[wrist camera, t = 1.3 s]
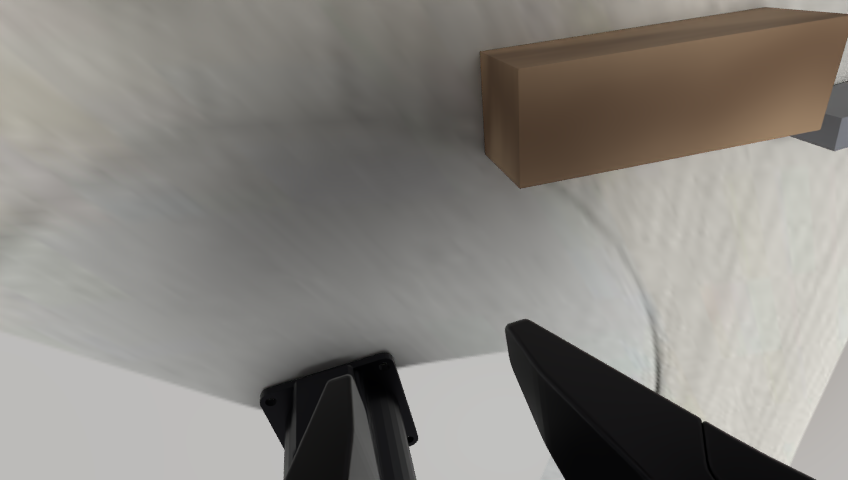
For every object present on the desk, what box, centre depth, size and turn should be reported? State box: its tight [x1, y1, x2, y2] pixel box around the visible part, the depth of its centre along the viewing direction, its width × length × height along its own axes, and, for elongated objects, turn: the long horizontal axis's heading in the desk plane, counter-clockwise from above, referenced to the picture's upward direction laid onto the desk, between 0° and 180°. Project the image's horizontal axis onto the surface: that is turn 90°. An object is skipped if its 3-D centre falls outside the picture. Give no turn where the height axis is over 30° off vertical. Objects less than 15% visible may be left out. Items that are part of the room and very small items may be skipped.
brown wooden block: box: [480, 7, 848, 189], centre depth 19 cm, size 4×12×4 cm, turn 97°
